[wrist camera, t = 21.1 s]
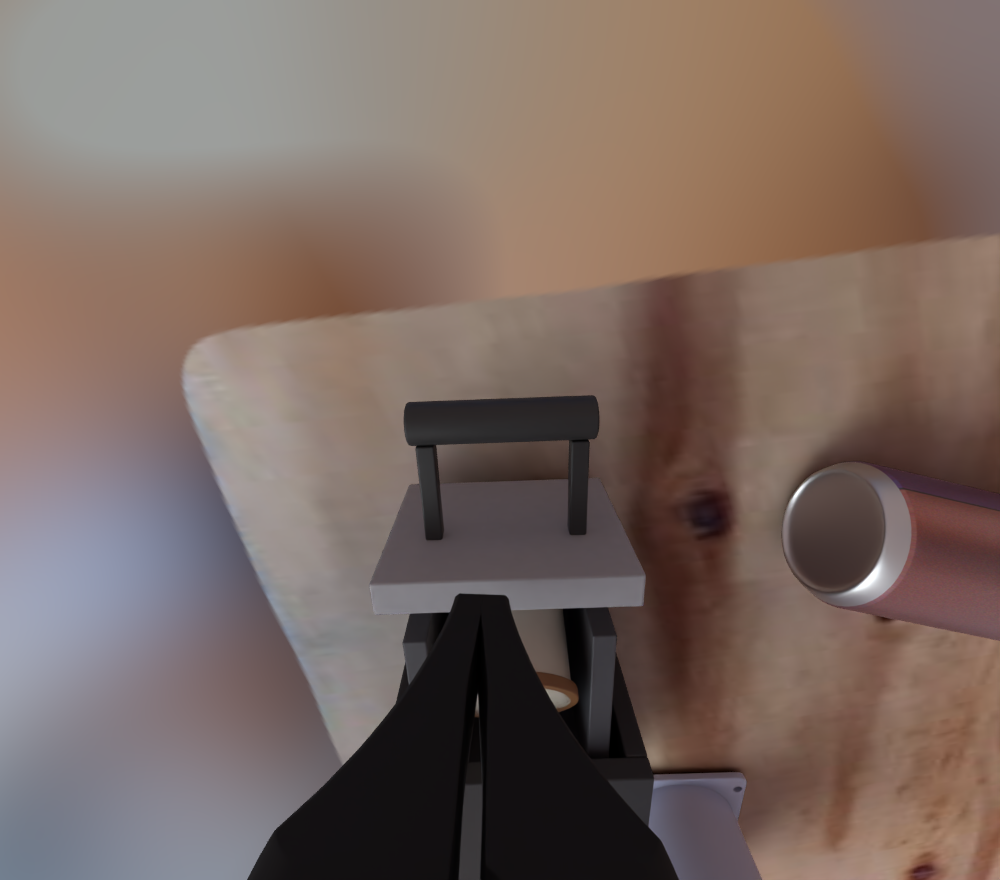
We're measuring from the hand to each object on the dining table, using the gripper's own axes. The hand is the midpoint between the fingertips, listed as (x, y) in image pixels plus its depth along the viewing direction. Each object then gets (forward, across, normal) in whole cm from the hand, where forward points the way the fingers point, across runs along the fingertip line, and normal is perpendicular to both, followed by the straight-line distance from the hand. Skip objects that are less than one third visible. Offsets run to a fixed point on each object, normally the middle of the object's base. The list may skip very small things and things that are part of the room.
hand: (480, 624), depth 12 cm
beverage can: (+6, -14, 0) cm, 15 cm away
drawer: (+8, -1, +3) cm, 9 cm away
